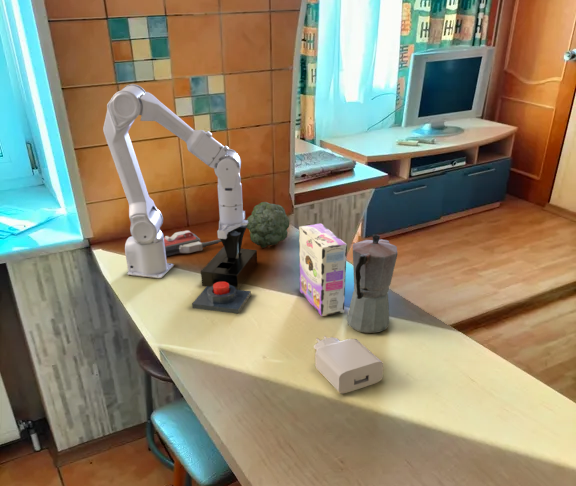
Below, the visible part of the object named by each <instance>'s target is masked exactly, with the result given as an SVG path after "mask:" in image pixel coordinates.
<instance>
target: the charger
mask: <svg viewBox="0 0 576 486" xmlns="http://www.w3.org/2000/svg"><path fill="white" fill-rule="evenodd" d="M315 340H316V343H315V344H314V345H313V348H314V350H315V358H314V359H315V361H314V362H315V363H314V364H315V366H314V367H315V369H316V370H317V371H318V372H319V373H320V374H321V375H322V376H323V377H324V378H325V379H326V381H328V383H330V385H331V386H332V387H333V388H334V389H335V390H336V391H337V392H338V393H339V394H347V393H350V392H351V393H352V392H354V391H356V390H360V389H362V388H366V387H369V386H372V385H376V384H377V383H380V381H382V379H383V375H384V362H383V361H382V360H381V359H380V358H379V357H377V356H376V355H375V354H374V353H373V352H372V351H370V350H369V349H368V348H367V347H366V346H365V345H364V344H363V343H362V342H361V341H360V340H358V339H357V338H346V339H343V340H339V338H336V337H332V336H330V337H327V336H326V335H324V336H323V339H320V338H318V337H317V338H316V339H315Z"/></svg>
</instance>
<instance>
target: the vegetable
mask: <svg viewBox="0 0 576 486" xmlns="http://www.w3.org/2000/svg"><path fill="white" fill-rule="evenodd" d="M246 220H248V224H247V228H246V230H248V231H249V237H250V241H251V242H252V243H253V244H255V245H257V246H258V247H260V248H262V249H264V248H267V247H268V246H275V245H278V244H279V242H283V241H284V240H285V239H286V238H287V237H288V229H289V227H290V219H289V217H288V216H287V214H286V210H285V208H284V207H283V206H282V205H280V204H275V203H269V202H267V201H261V202H260V203H258V204H256V205H254V207H253V209H252V211H251V214H250V215H249V216H248V217H247V218H246Z"/></svg>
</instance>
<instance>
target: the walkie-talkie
mask: <svg viewBox="0 0 576 486" xmlns="http://www.w3.org/2000/svg"><path fill="white" fill-rule="evenodd" d="M219 243H222V241H221V240H220V239H219V238H218V239H215V240H211V241H205V242H201V238H200V237H198V236H197V234H195V233H193V232H192V231H190V230H189V229H185V230H182V231H181V230H180V231H176V232H174V233H173V234H172V235H171V236H169V235H165V236H164V244H165V252H166V257H170V256H174V255H178V254H192V253H197V252H202V251H203V249H204V248H206V247H209V246H213V245H217V244H219Z"/></svg>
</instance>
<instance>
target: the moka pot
mask: <svg viewBox="0 0 576 486" xmlns="http://www.w3.org/2000/svg"><path fill="white" fill-rule="evenodd" d="M398 256H399V255H398V247H397V246H396V245H394V244H393V243H390V240H387V239H382V238H381V236H380V235H379V234H372V239H363V240H361V241H357V242H353V244H352V266H353V269H352V271H353V292H352V296H351V301H350V304H349V308H348V313H347V317H346V323H347V324H348V326H349V327H350V328H351V329H352V330H355V331H357V332H359V333H365V334H366V333H367V334H371V333H380V332H383V331H386V330H387V329H388V327H389V326H390V325H389V324H390V311H389V289H390V287H391V285H392V280H393V275H394V270H395V266H396V263H397V258H398Z"/></svg>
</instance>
